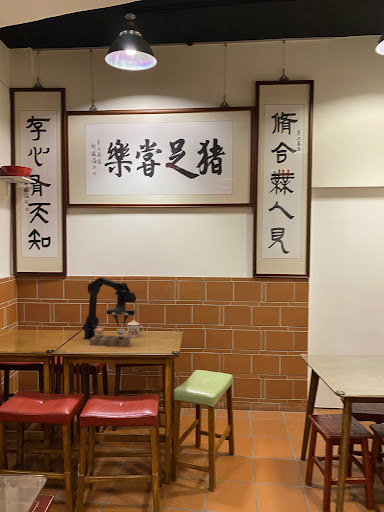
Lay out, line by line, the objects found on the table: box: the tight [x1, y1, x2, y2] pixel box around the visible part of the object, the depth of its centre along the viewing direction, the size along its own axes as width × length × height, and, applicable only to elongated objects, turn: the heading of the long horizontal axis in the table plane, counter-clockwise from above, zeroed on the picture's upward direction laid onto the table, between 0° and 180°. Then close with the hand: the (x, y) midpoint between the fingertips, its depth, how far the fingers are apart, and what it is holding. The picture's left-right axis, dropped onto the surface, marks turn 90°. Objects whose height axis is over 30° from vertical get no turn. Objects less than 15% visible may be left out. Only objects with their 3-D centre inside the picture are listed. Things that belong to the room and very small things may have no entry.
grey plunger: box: [116, 328, 126, 339], centre depth 265 cm, size 5×5×6 cm
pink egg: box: [95, 327, 104, 338], centre depth 266 cm, size 5×5×6 cm
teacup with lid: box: [126, 319, 144, 338], centre depth 288 cm, size 12×9×12 cm
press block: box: [89, 334, 131, 348], centre depth 266 cm, size 24×12×4 cm, turn 83°
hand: (121, 324), depth 264 cm, fingers open, 4 cm apart
